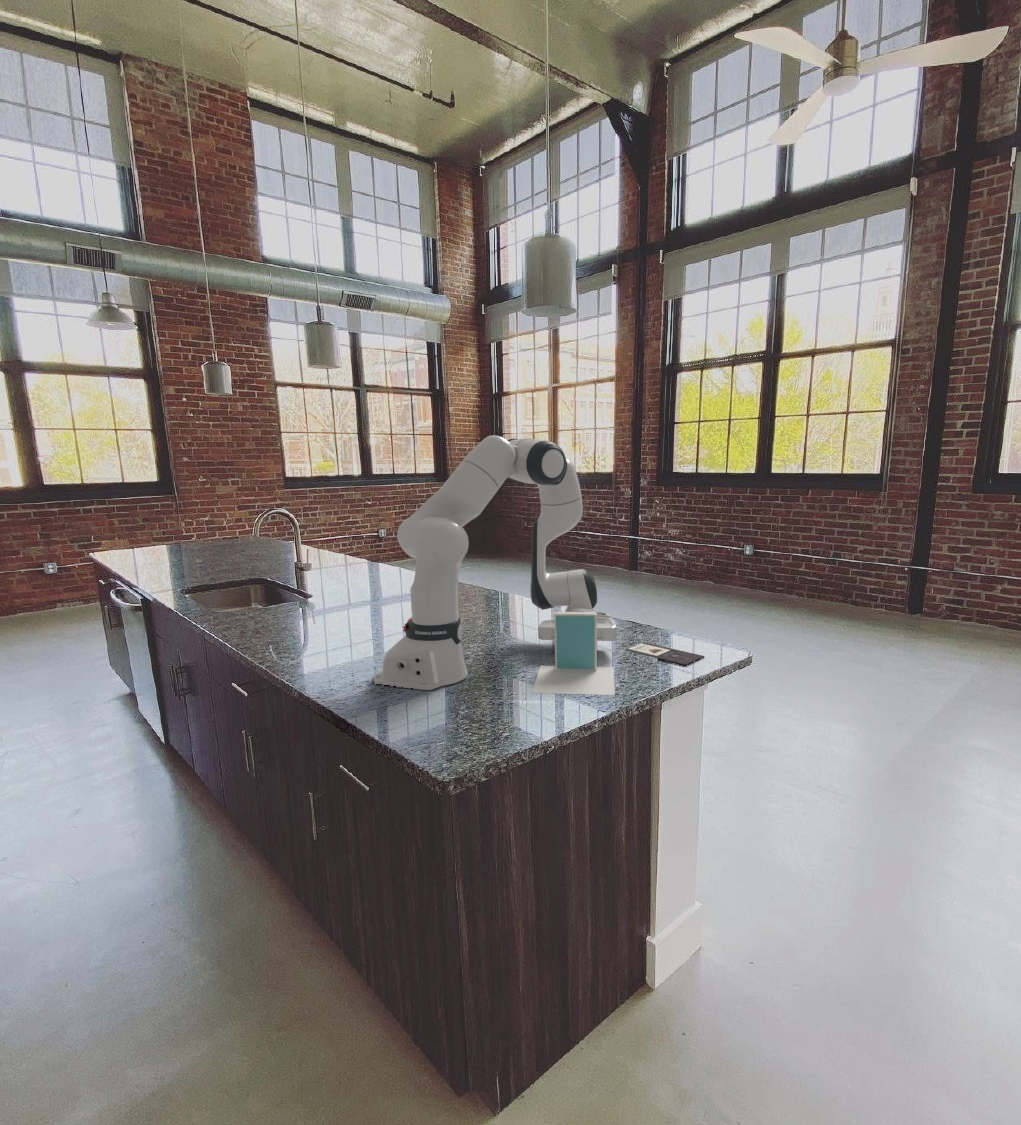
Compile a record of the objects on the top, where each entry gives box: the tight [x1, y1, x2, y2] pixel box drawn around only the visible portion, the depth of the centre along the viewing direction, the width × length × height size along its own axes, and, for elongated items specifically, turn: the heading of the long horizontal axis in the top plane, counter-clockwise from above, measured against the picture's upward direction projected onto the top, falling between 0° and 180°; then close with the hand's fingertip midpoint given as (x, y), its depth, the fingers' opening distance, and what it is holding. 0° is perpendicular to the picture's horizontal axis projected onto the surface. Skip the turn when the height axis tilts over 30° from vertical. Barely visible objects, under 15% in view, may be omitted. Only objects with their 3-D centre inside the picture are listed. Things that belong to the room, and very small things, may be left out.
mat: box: [531, 665, 616, 696], centre depth 139 cm, size 18×18×1 cm
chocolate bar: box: [625, 642, 705, 667], centre depth 156 cm, size 9×1×18 cm
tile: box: [553, 611, 598, 671], centre depth 144 cm, size 10×2×14 cm, turn 81°
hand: (576, 639), depth 148 cm, fingers closed
